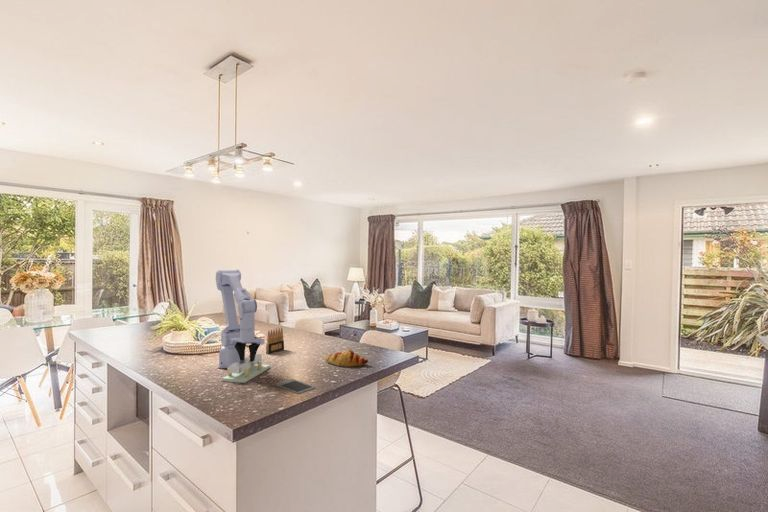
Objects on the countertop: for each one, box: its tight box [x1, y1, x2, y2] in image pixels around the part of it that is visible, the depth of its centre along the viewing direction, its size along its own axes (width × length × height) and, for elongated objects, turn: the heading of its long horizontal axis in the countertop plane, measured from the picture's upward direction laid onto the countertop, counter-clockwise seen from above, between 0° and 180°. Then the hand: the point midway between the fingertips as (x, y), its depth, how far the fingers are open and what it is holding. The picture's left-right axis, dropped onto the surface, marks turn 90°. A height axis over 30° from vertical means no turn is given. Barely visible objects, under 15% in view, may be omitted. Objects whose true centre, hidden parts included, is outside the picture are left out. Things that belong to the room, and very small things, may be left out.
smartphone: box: [274, 378, 316, 395], centre depth 137 cm, size 15×8×1 cm, turn 50°
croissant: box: [325, 349, 369, 368], centre depth 166 cm, size 21×10×8 cm, turn 73°
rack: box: [221, 362, 271, 384], centre depth 152 cm, size 10×20×4 cm, turn 169°
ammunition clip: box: [265, 327, 285, 355], centre depth 188 cm, size 11×2×12 cm, turn 150°
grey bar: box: [230, 353, 263, 373], centre depth 152 cm, size 18×5×3 cm, turn 169°
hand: (247, 360), depth 152 cm, fingers closed on grey bar, 4 cm apart
